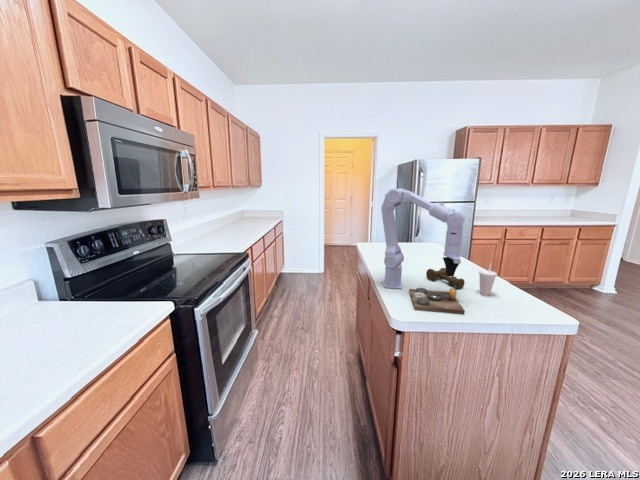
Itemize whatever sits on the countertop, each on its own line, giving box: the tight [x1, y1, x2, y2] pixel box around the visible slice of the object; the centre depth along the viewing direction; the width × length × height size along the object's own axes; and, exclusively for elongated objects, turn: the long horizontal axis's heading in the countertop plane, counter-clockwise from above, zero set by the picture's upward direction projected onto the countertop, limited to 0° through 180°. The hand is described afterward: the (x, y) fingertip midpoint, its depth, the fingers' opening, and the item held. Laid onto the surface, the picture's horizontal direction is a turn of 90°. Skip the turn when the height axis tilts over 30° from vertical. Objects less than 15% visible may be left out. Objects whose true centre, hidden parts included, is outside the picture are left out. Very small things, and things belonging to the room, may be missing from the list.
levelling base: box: [408, 287, 466, 315], centre depth 103 cm, size 17×17×3 cm
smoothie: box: [478, 262, 498, 297], centre depth 110 cm, size 6×6×14 cm
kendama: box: [425, 267, 465, 290], centre depth 125 cm, size 6×10×20 cm
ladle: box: [428, 288, 458, 301], centre depth 102 cm, size 10×5×4 cm, turn 78°
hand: (449, 275), depth 106 cm, fingers closed
